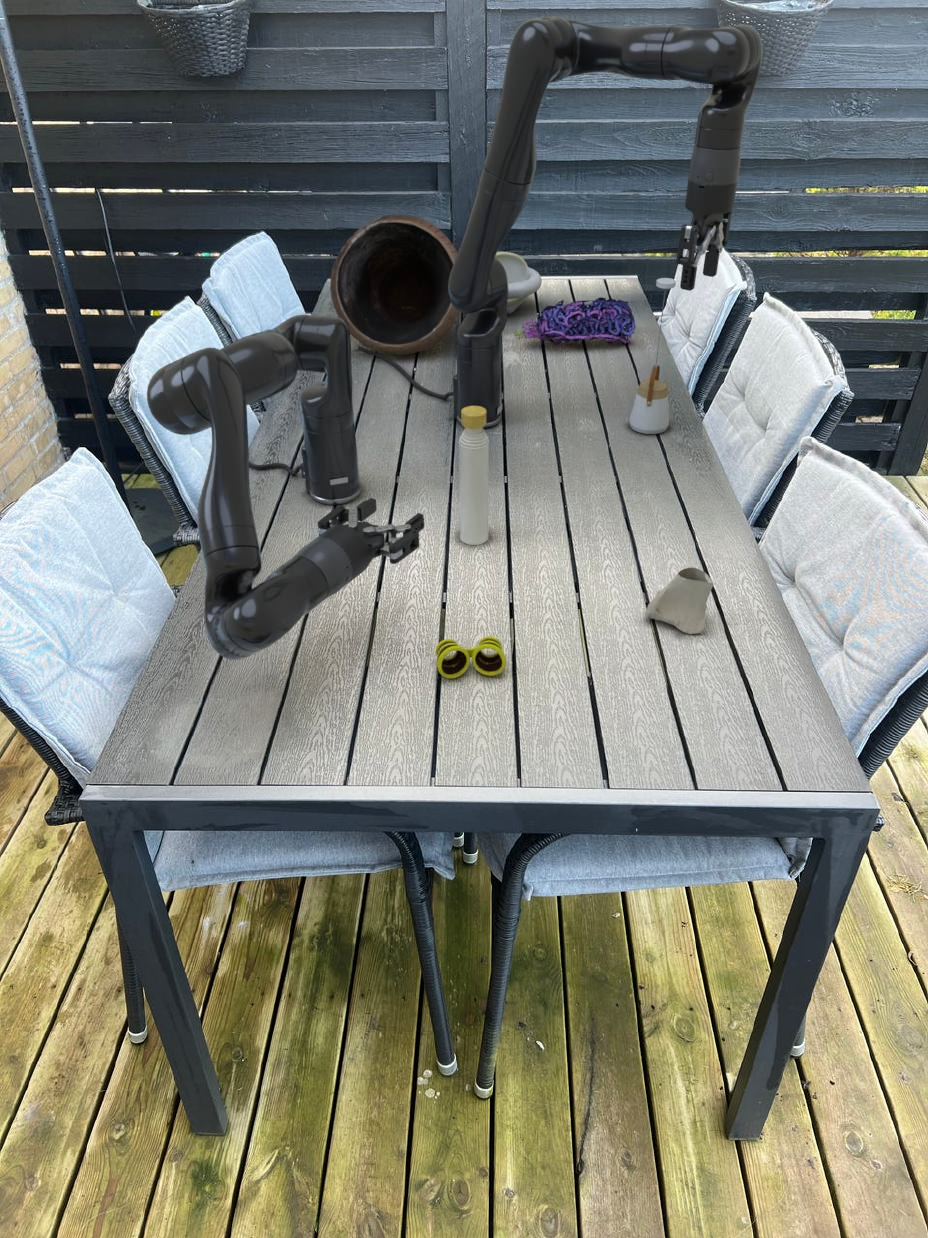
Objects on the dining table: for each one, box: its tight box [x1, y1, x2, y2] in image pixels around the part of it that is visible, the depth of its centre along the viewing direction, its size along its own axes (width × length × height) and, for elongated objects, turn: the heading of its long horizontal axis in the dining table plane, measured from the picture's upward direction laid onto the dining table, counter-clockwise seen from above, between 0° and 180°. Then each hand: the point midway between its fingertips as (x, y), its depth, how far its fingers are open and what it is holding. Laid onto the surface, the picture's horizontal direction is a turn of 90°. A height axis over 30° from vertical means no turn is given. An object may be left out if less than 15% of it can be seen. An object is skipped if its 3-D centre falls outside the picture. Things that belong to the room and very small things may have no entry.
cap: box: [460, 406, 486, 429], centre depth 148 cm, size 4×4×2 cm
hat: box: [495, 251, 543, 314], centre depth 248 cm, size 25×22×15 cm
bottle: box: [458, 427, 490, 546], centre depth 155 cm, size 5×5×23 cm
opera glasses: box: [435, 635, 507, 679], centre depth 132 cm, size 10×5×5 cm, turn 95°
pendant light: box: [628, 277, 677, 435], centre depth 186 cm, size 8×8×30 cm
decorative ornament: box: [513, 296, 636, 345], centre depth 229 cm, size 13×11×30 cm
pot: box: [329, 213, 460, 356], centre depth 230 cm, size 32×32×30 cm
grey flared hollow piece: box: [645, 566, 715, 635], centre depth 139 cm, size 9×8×10 cm
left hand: (397, 511), depth 137 cm, fingers open, 8 cm apart
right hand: (698, 282), depth 155 cm, fingers open, 8 cm apart
